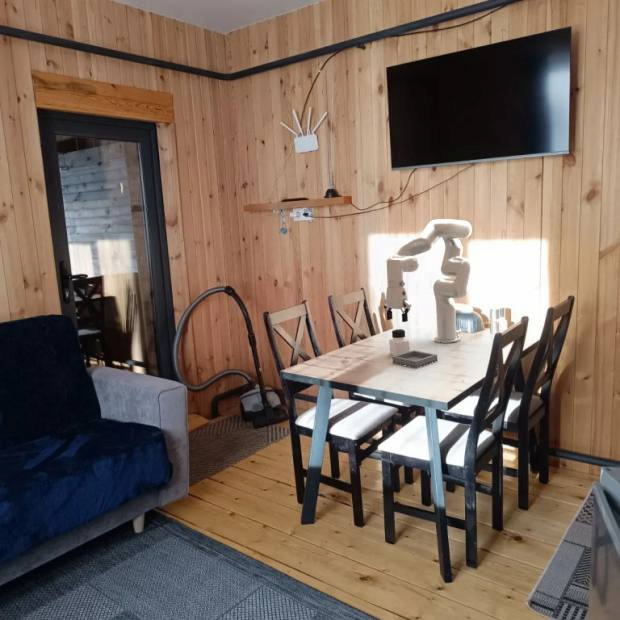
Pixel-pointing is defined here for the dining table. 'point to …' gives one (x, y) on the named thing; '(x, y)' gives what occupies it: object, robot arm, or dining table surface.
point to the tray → (415, 358)
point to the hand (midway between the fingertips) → (397, 320)
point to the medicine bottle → (398, 342)
